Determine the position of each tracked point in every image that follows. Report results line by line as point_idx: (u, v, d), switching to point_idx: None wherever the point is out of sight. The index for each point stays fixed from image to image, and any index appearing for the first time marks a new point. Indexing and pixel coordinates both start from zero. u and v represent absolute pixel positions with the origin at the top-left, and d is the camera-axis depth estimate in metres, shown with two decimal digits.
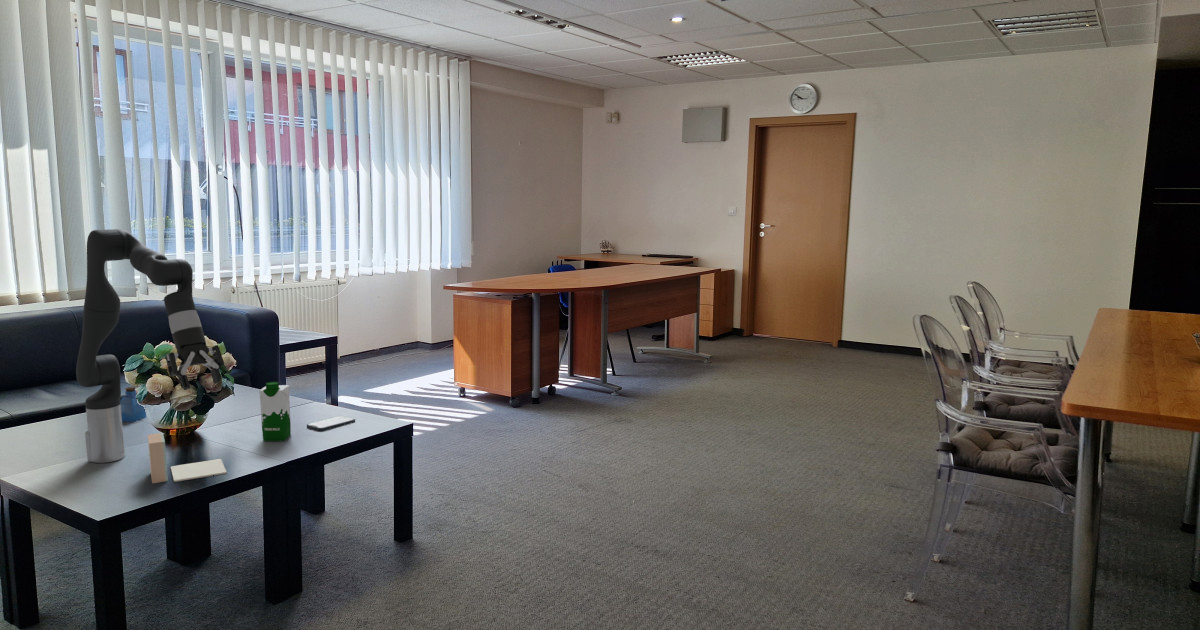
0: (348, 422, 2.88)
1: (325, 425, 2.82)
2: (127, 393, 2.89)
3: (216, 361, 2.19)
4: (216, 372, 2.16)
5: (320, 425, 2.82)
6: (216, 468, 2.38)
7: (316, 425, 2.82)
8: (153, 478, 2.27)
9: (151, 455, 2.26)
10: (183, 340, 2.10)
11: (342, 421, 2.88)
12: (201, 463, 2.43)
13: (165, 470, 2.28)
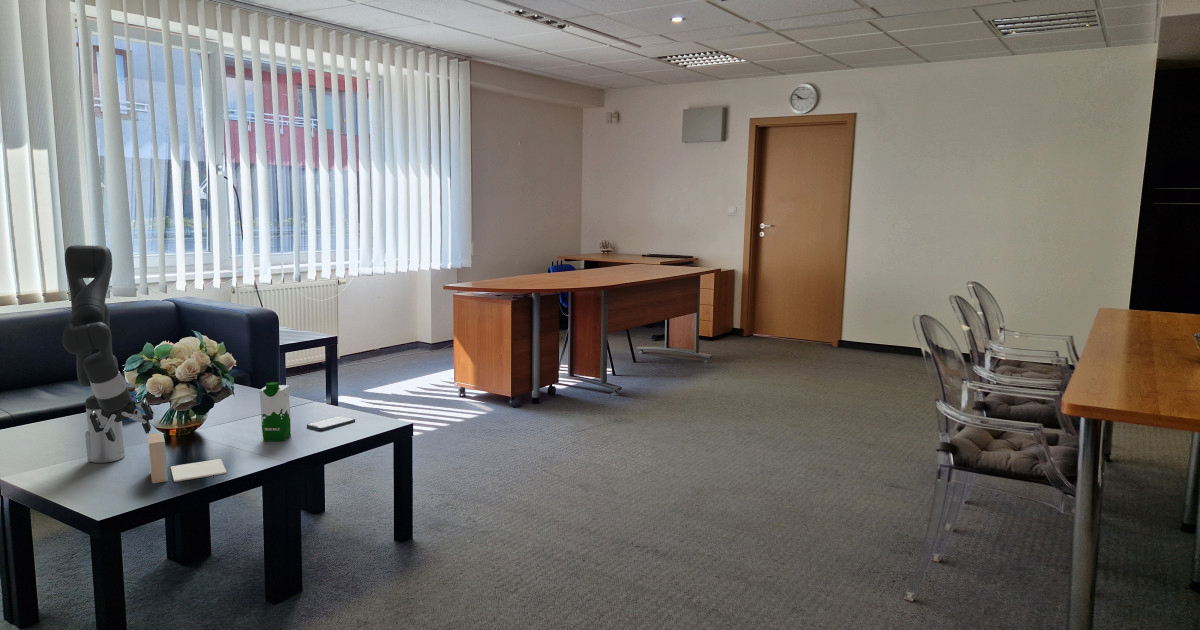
0: (348, 422, 2.88)
1: (325, 425, 2.82)
2: None
3: None
4: (144, 426, 2.16)
5: (320, 425, 2.82)
6: (216, 468, 2.38)
7: (316, 425, 2.82)
8: (153, 478, 2.27)
9: (151, 455, 2.26)
10: (101, 407, 2.08)
11: (342, 421, 2.88)
12: (201, 463, 2.43)
13: (165, 470, 2.28)
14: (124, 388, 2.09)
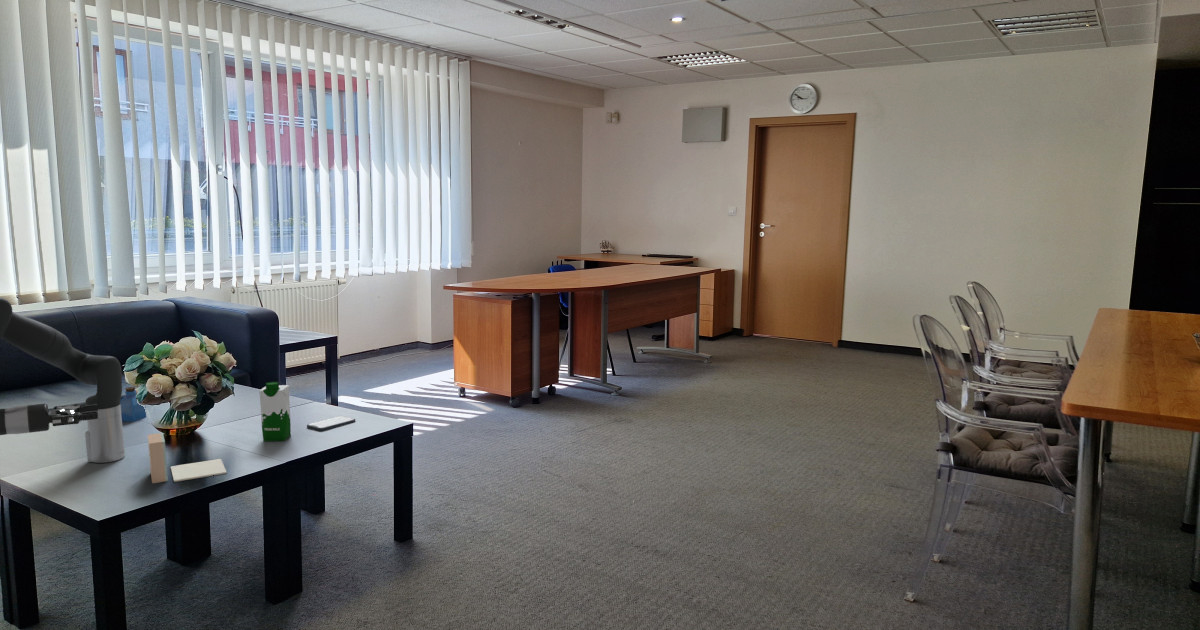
0: (348, 422, 2.88)
1: (325, 425, 2.82)
2: (127, 393, 2.89)
3: None
4: None
5: (320, 425, 2.82)
6: (216, 468, 2.38)
7: (316, 425, 2.82)
8: (153, 478, 2.27)
9: (151, 455, 2.26)
10: None
11: (342, 421, 2.88)
12: (201, 463, 2.43)
13: (165, 470, 2.28)
14: (26, 426, 2.10)
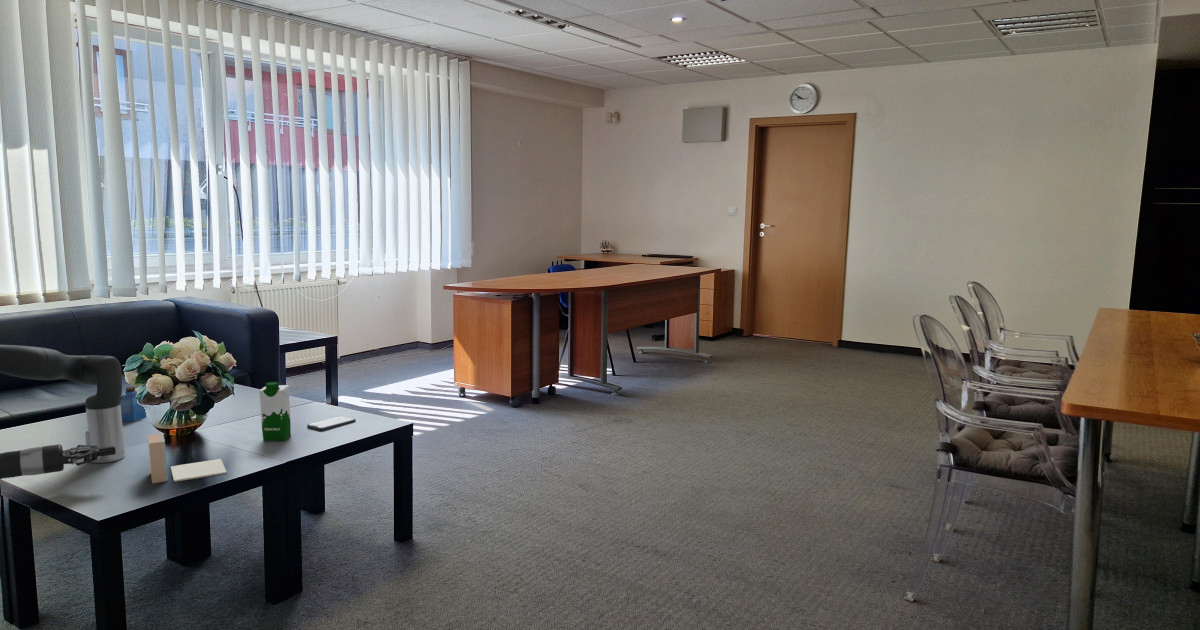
0: (348, 422, 2.88)
1: (325, 425, 2.82)
2: (127, 393, 2.89)
3: None
4: None
5: (320, 425, 2.82)
6: (216, 468, 2.38)
7: (316, 425, 2.82)
8: (153, 478, 2.27)
9: (151, 455, 2.26)
10: None
11: (342, 421, 2.88)
12: (201, 463, 2.43)
13: (165, 470, 2.28)
14: (41, 468, 2.13)
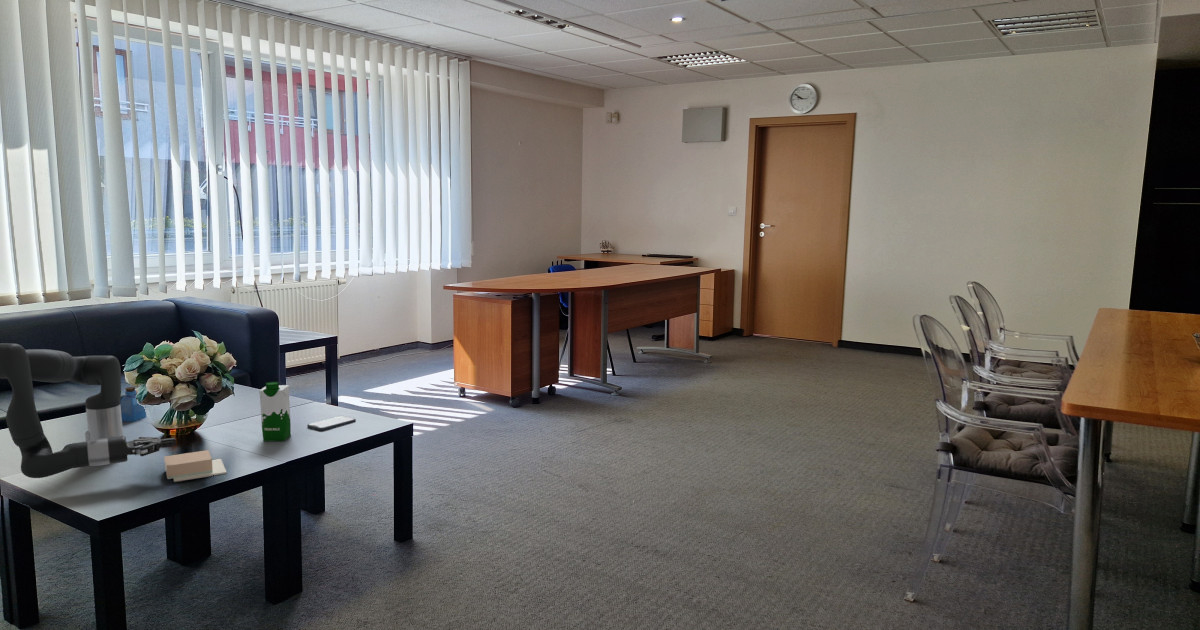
0: (349, 422, 2.89)
1: (326, 425, 2.82)
2: (127, 393, 2.89)
3: None
4: None
5: (321, 425, 2.82)
6: (216, 468, 2.38)
7: (317, 425, 2.82)
8: (172, 466, 2.29)
9: (198, 462, 2.33)
10: None
11: (343, 421, 2.88)
12: None
13: (179, 475, 2.31)
14: (107, 458, 2.21)
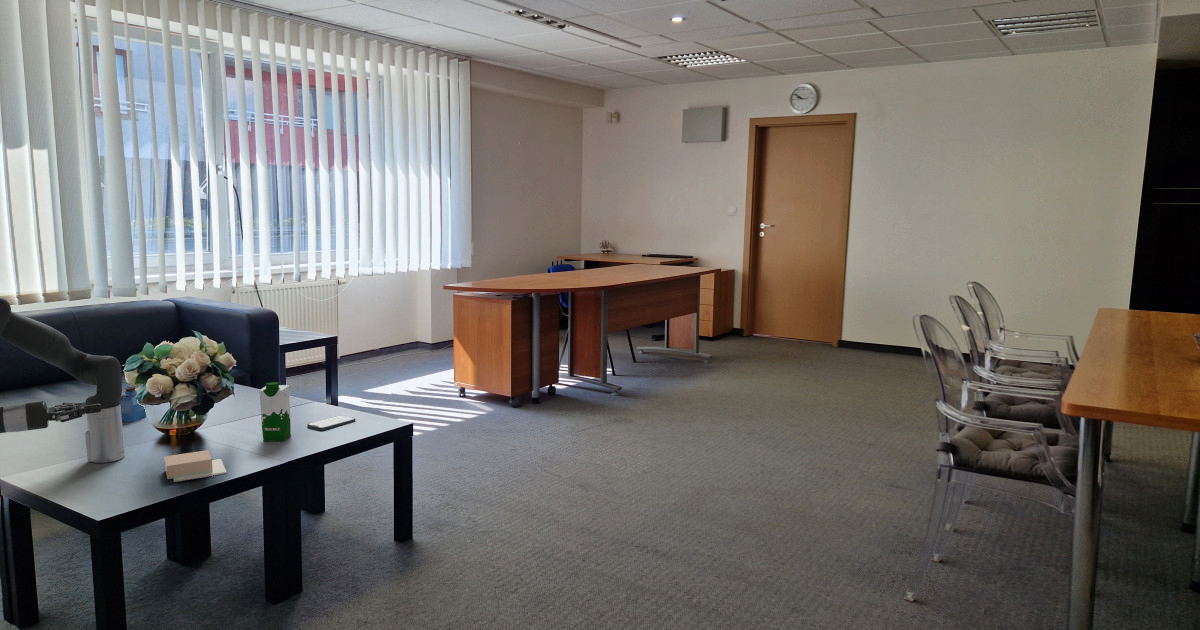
0: (348, 421, 2.89)
1: (326, 425, 2.82)
2: (127, 393, 2.89)
3: None
4: None
5: (321, 425, 2.82)
6: (216, 468, 2.38)
7: (317, 425, 2.82)
8: (172, 466, 2.29)
9: (198, 462, 2.33)
10: None
11: (342, 421, 2.88)
12: None
13: (179, 475, 2.31)
14: (24, 424, 2.10)
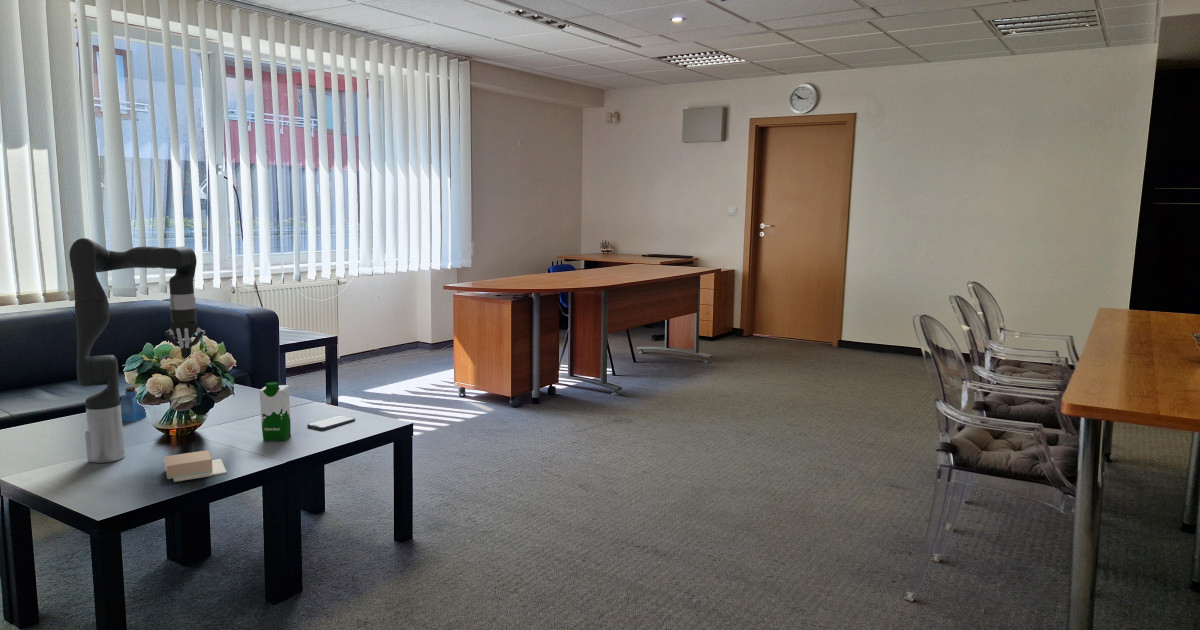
0: (348, 421, 2.89)
1: (326, 424, 2.83)
2: (127, 393, 2.89)
3: None
4: (186, 350, 2.60)
5: (321, 424, 2.82)
6: (216, 468, 2.38)
7: (317, 425, 2.82)
8: (172, 466, 2.29)
9: (198, 462, 2.33)
10: (171, 318, 2.56)
11: (342, 420, 2.89)
12: None
13: (179, 475, 2.31)
14: (192, 307, 2.58)
